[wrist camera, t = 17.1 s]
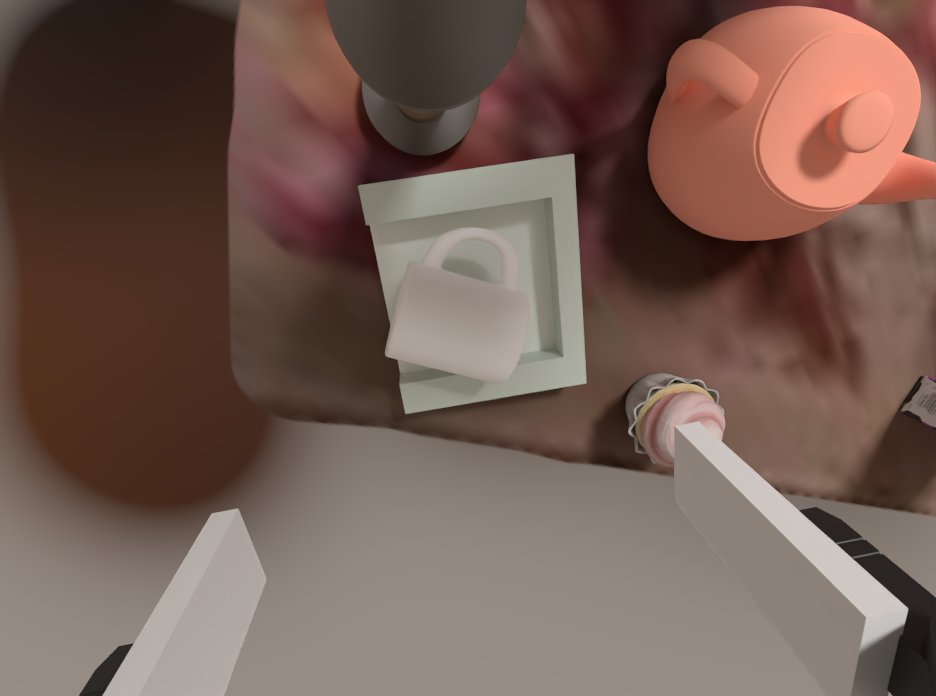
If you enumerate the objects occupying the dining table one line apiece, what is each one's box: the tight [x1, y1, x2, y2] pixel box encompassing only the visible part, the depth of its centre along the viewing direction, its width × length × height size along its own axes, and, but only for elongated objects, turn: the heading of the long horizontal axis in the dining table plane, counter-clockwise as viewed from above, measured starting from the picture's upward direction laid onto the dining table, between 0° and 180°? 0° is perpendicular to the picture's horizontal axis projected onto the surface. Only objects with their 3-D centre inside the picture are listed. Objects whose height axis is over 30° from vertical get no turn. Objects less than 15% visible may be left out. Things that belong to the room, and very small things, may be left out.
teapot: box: [647, 6, 936, 241], centre depth 36 cm, size 25×17×13 cm
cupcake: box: [625, 373, 725, 467], centre depth 45 cm, size 9×9×10 cm
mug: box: [385, 227, 530, 384], centre depth 39 cm, size 12×10×8 cm
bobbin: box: [325, 0, 526, 155], centre depth 27 cm, size 9×9×23 cm
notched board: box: [358, 154, 587, 414], centre depth 42 cm, size 17×20×3 cm
